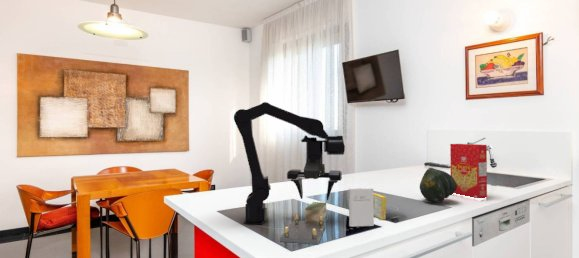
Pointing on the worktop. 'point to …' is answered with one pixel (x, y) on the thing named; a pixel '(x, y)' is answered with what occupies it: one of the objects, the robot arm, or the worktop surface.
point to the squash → (437, 185)
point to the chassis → (304, 231)
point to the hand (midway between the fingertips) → (314, 199)
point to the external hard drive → (361, 207)
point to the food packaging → (469, 169)
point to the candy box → (379, 206)
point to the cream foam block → (315, 211)
